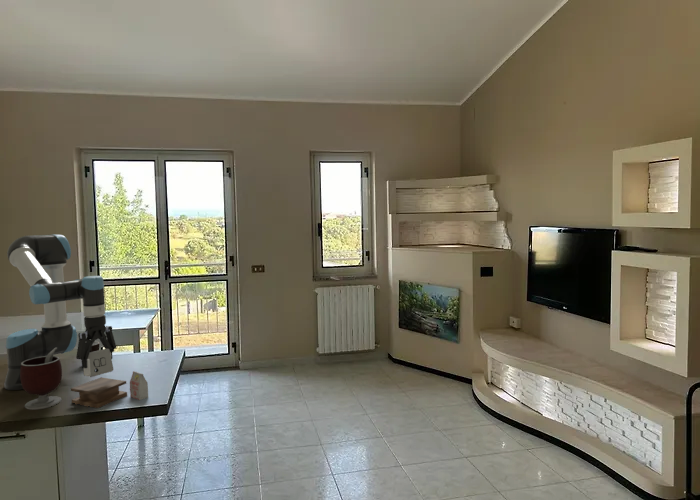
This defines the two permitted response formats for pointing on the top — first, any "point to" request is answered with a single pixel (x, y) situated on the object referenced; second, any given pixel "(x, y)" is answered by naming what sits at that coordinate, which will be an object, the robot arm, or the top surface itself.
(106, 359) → the electrical switch
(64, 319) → the robot arm
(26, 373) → the mate gourd
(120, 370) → the top surface
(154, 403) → the top surface
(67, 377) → the top surface
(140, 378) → the milk carton
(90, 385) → the walnut stand
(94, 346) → the coffee mug
